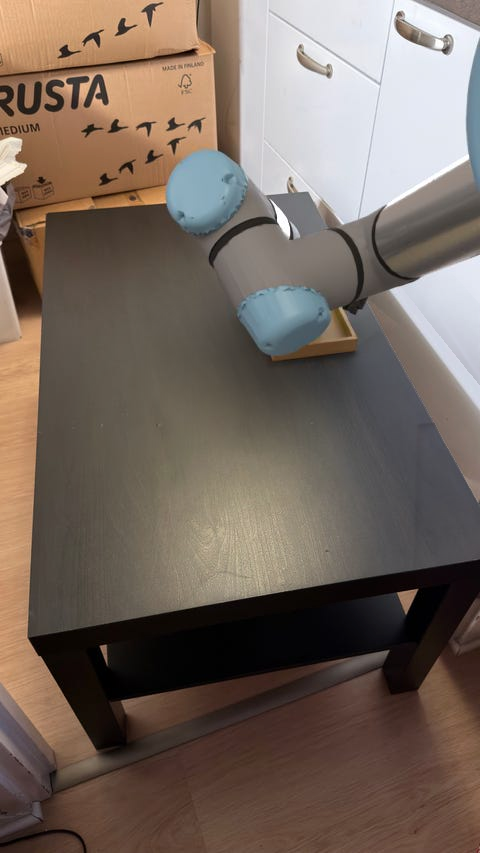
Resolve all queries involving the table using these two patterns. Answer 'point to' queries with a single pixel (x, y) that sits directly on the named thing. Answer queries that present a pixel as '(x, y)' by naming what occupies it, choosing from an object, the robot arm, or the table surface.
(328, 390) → the table surface
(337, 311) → the square wooden tray
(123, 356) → the table surface
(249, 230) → the robot arm
